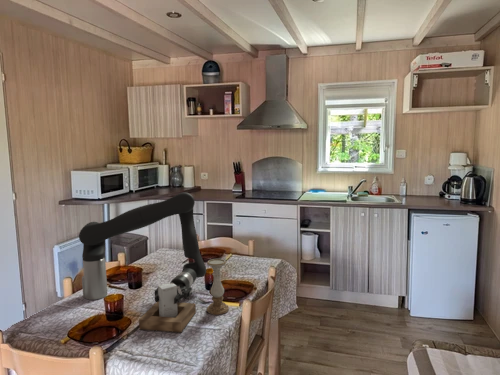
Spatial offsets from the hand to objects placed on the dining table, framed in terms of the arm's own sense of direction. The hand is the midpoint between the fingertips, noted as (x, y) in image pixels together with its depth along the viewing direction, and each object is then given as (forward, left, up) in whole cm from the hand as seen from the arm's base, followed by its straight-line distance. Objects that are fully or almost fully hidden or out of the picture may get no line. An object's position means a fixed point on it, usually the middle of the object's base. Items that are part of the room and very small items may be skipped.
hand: (165, 300), depth 138 cm
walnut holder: (0, +2, -9) cm, 9 cm away
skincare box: (0, +2, -7) cm, 8 cm away
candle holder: (+16, +14, -9) cm, 23 cm away
